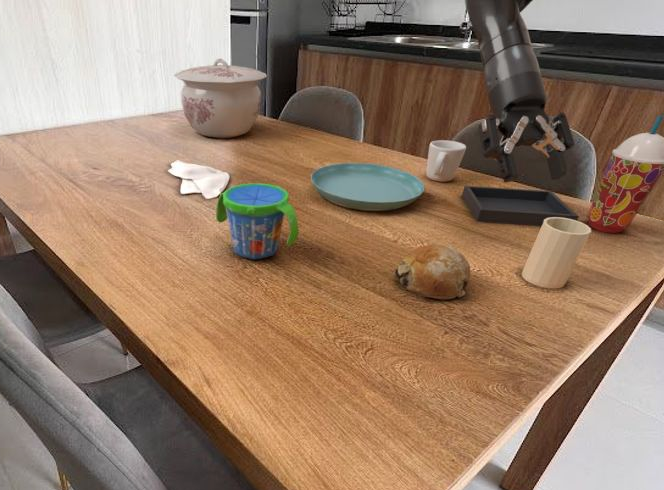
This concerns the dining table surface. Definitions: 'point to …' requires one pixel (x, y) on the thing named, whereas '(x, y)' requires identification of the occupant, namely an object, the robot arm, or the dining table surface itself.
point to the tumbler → (555, 252)
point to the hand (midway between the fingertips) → (535, 178)
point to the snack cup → (256, 218)
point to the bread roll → (434, 272)
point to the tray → (514, 205)
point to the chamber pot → (221, 98)
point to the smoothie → (627, 181)
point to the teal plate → (366, 186)
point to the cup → (444, 160)
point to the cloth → (200, 179)
